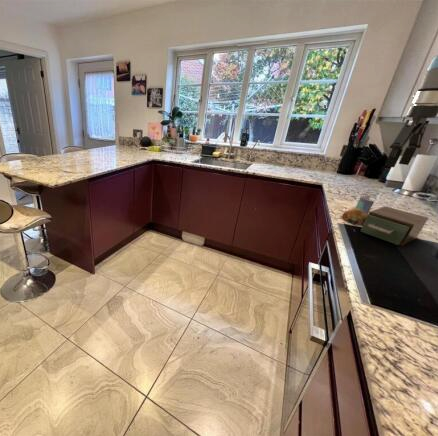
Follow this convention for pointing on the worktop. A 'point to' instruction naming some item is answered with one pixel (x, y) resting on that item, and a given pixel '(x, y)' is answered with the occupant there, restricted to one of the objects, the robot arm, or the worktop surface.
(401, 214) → the cabinet
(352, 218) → the bread roll
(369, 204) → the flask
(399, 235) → the drawer
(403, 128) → the robot arm
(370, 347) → the worktop surface
